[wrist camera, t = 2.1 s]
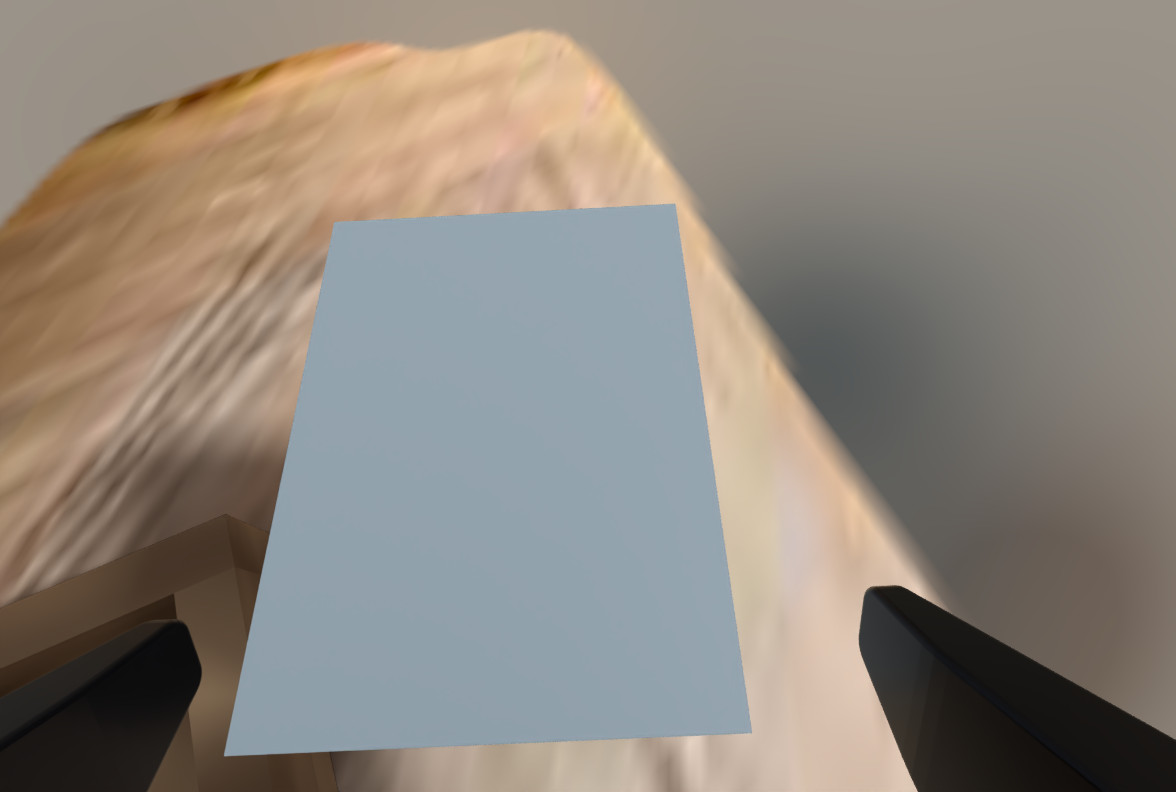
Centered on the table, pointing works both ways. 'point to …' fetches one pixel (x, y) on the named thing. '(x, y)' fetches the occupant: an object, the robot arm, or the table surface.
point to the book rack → (218, 629)
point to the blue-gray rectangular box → (496, 497)
